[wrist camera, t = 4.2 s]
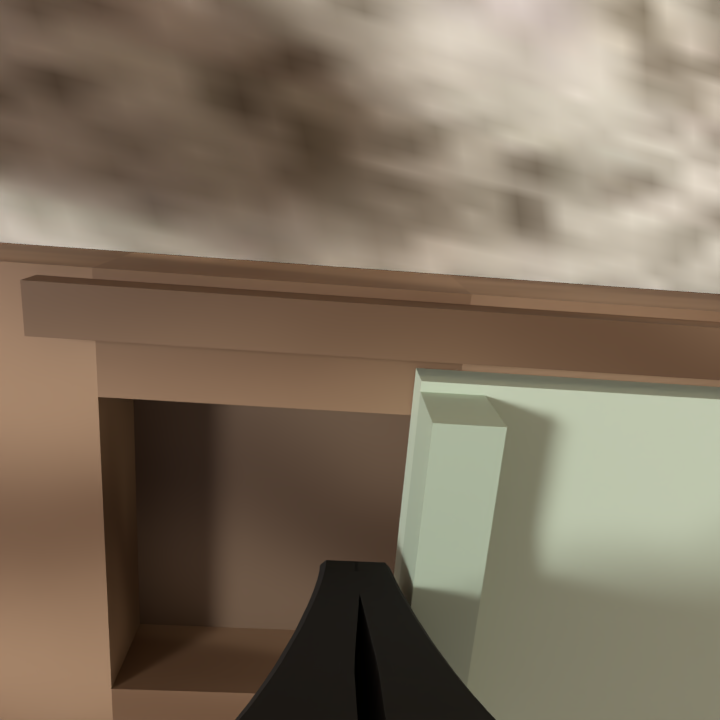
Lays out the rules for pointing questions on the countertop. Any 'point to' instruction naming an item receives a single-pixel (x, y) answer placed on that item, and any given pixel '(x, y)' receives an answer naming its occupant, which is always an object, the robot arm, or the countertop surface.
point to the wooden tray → (241, 449)
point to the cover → (567, 542)
